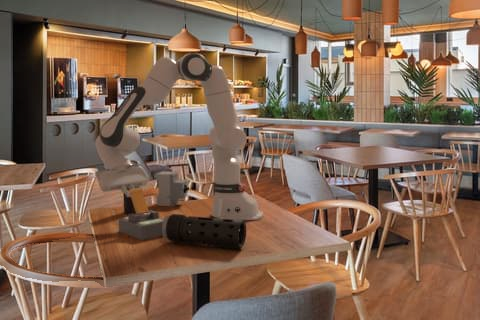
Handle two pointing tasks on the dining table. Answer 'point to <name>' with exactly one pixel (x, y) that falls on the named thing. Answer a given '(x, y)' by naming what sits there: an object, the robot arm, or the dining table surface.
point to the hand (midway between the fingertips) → (131, 195)
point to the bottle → (128, 204)
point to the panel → (141, 226)
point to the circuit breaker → (170, 188)
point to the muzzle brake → (204, 231)
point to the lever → (139, 202)
